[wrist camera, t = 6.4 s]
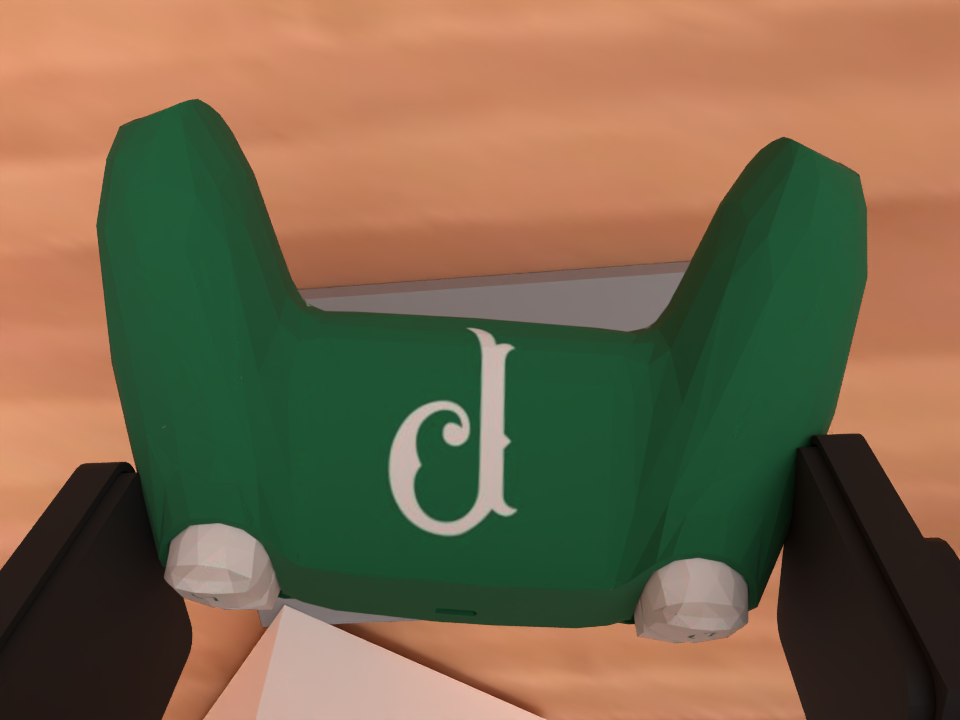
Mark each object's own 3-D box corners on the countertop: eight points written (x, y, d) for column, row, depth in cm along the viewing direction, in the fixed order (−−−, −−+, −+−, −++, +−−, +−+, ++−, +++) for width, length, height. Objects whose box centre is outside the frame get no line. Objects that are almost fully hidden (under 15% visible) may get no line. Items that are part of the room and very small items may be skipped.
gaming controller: (193, 207, 14) (126, 602, 13) (97, 65, 11) (-16, 593, 9) (782, 247, 14) (791, 651, 13) (887, 116, 11) (920, 662, 9)
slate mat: (703, 260, 27) (708, 270, 27) (696, 592, 33) (700, 607, 33) (183, 297, 29) (175, 308, 28) (267, 611, 35) (262, 627, 34)
